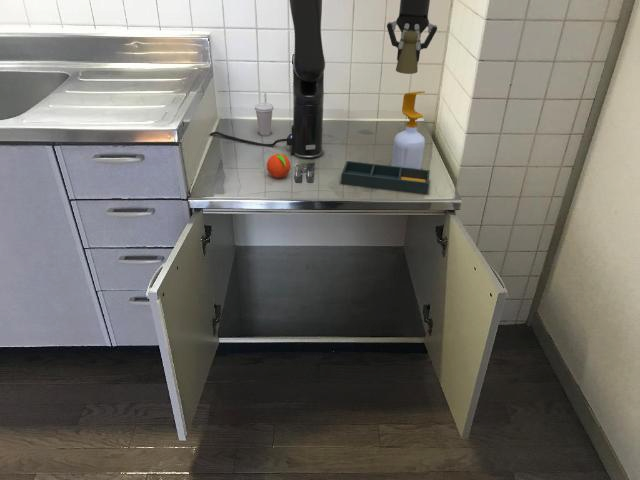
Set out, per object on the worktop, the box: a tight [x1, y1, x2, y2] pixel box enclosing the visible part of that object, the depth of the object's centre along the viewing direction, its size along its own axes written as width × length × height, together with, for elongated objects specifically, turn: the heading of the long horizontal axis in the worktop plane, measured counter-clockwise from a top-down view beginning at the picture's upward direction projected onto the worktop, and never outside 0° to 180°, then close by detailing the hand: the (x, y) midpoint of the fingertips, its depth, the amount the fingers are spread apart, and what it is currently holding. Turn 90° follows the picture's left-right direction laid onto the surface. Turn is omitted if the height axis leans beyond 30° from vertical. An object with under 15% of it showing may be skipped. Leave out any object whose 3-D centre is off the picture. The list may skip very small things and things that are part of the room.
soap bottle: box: [390, 90, 426, 169], centre depth 147 cm, size 9×9×25 cm
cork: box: [395, 30, 422, 75], centre depth 137 cm, size 6×6×11 cm
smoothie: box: [254, 92, 274, 136], centre depth 171 cm, size 6×6×14 cm
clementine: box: [266, 153, 292, 179], centre depth 145 cm, size 8×7×7 cm
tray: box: [340, 160, 430, 195], centre depth 146 cm, size 25×9×3 cm, turn 78°
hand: (407, 62), depth 138 cm, fingers closed on cork, 3 cm apart
